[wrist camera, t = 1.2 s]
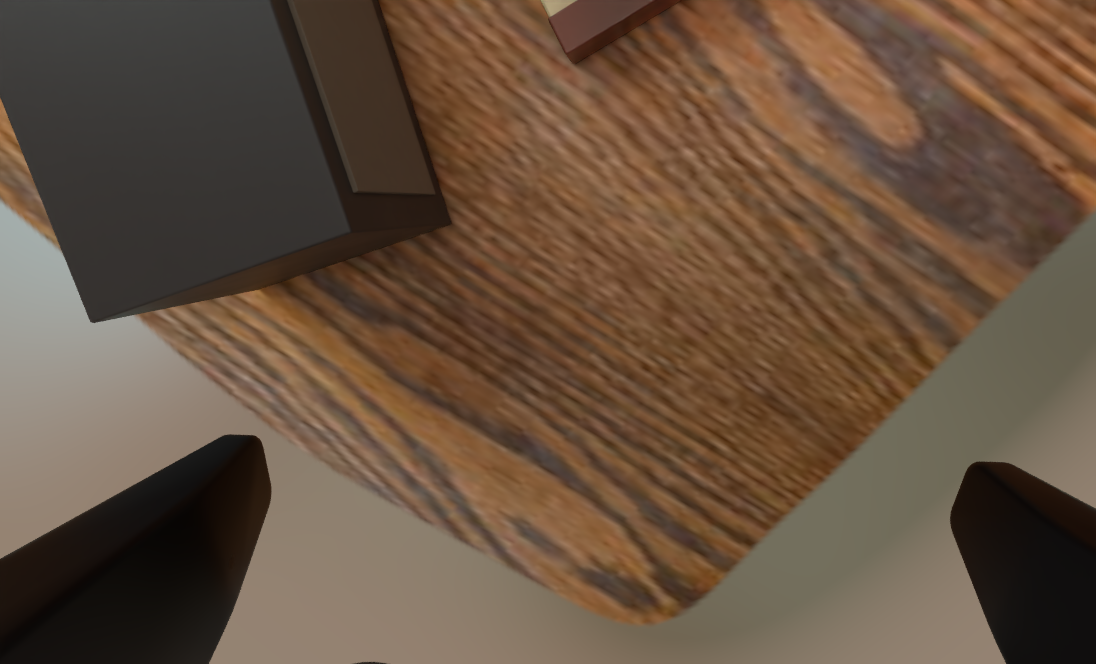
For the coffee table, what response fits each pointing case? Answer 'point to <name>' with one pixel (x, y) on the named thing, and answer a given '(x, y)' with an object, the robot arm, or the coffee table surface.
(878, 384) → the coffee table surface
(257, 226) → the block
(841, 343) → the coffee table surface
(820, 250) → the coffee table surface
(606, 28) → the notebook
